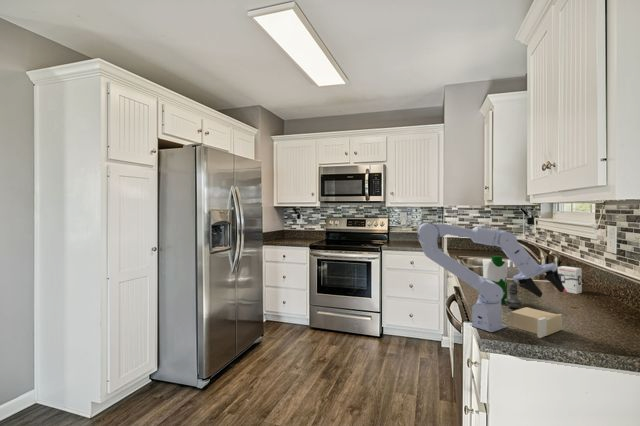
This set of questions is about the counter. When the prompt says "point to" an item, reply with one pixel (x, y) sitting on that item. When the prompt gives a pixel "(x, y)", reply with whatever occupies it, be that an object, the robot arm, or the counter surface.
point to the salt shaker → (512, 297)
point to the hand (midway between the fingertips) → (551, 293)
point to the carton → (528, 318)
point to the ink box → (571, 279)
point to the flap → (549, 325)
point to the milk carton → (496, 273)
